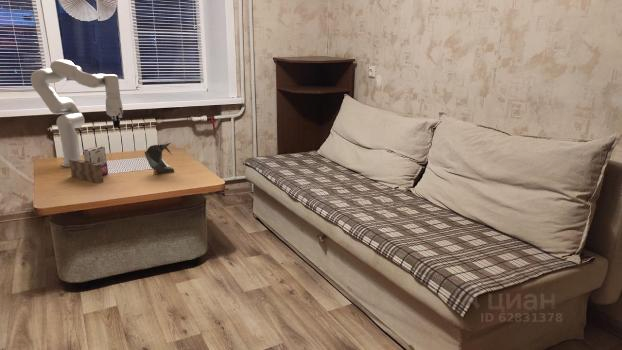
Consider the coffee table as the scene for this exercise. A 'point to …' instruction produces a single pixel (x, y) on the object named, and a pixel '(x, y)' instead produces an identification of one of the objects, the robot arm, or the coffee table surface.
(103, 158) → the candy bar box
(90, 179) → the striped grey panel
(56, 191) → the coffee table surface
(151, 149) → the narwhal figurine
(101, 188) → the coffee table surface
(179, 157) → the coffee table surface
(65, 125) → the robot arm
